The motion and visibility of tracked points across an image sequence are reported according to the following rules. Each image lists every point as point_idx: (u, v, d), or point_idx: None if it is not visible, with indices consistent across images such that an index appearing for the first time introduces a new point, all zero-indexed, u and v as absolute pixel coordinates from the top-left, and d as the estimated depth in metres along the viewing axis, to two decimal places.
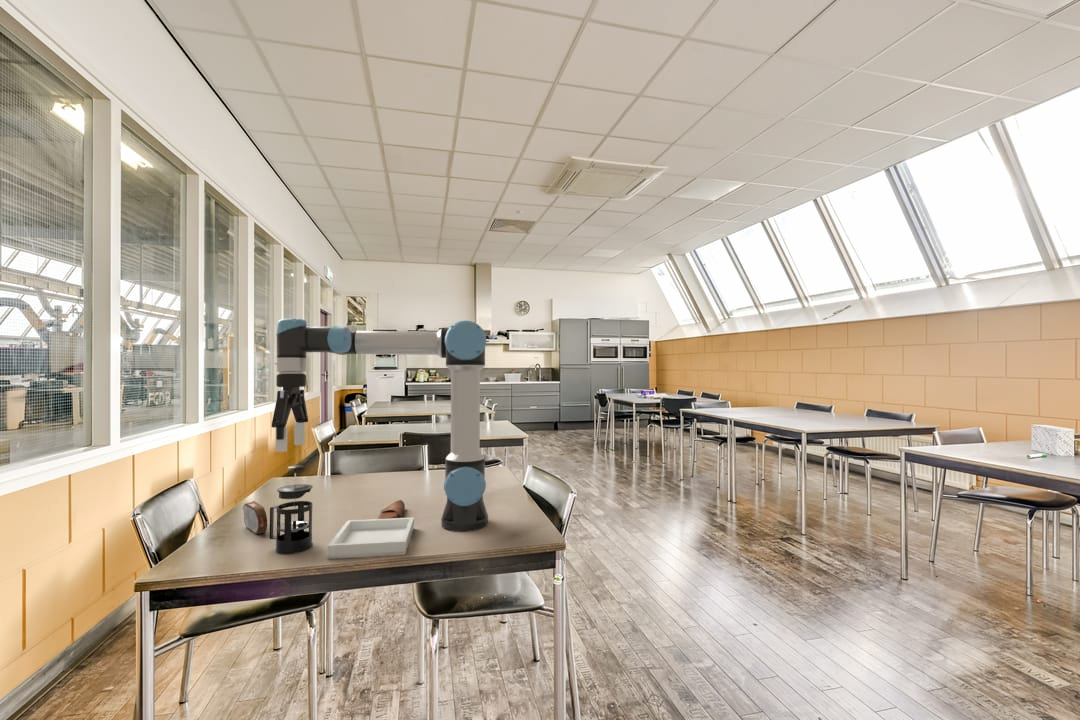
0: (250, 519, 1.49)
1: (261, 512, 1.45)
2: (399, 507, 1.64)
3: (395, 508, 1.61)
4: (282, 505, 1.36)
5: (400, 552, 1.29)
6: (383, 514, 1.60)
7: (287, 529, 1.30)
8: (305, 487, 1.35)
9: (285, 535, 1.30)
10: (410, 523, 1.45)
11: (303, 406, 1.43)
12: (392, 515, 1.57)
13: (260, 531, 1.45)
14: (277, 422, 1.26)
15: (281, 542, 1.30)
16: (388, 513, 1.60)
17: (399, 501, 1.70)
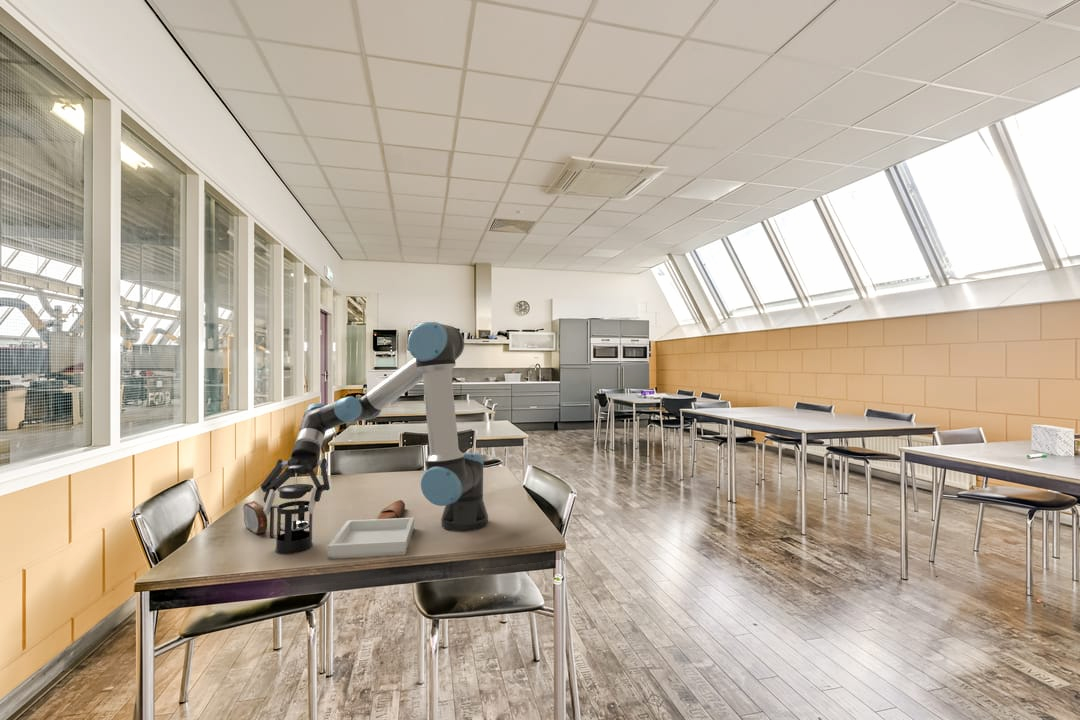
0: (250, 519, 1.49)
1: (261, 512, 1.45)
2: (398, 507, 1.64)
3: (394, 508, 1.61)
4: (282, 505, 1.36)
5: (400, 552, 1.29)
6: (382, 514, 1.60)
7: (287, 529, 1.30)
8: (306, 487, 1.34)
9: (285, 535, 1.30)
10: (410, 523, 1.45)
11: (322, 473, 1.41)
12: (391, 515, 1.57)
13: (260, 531, 1.45)
14: None
15: (281, 542, 1.30)
16: (387, 513, 1.60)
17: (399, 501, 1.70)
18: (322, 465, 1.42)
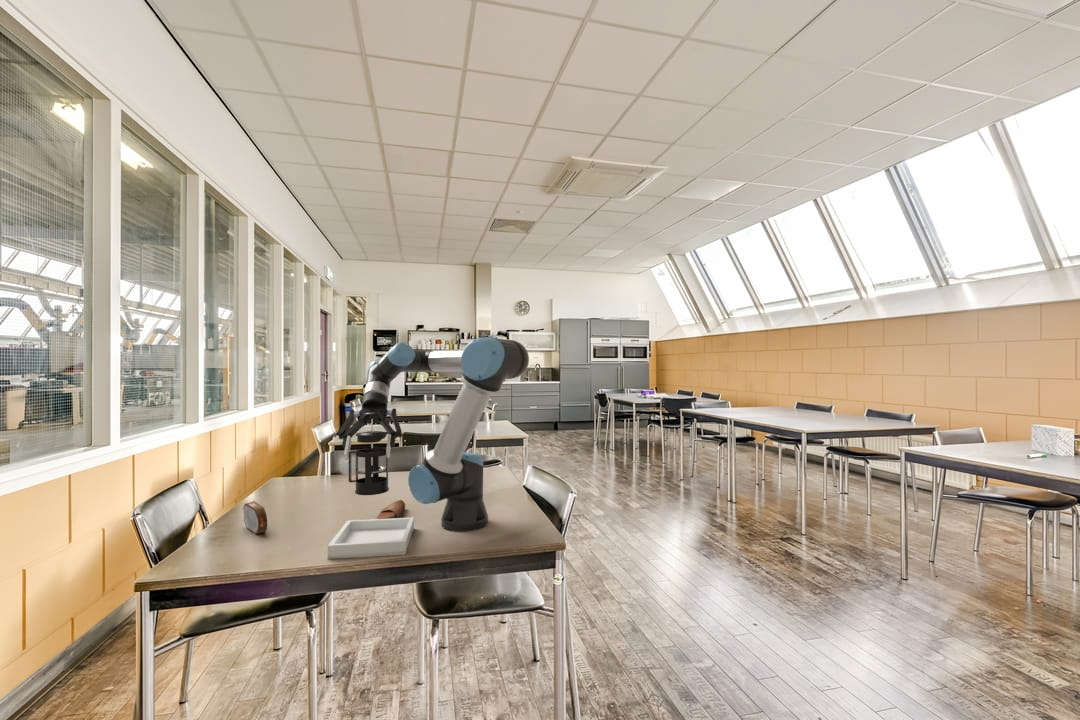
0: (250, 519, 1.49)
1: (261, 512, 1.45)
2: (398, 507, 1.64)
3: (393, 508, 1.61)
4: (359, 450, 1.41)
5: (400, 552, 1.29)
6: (381, 514, 1.60)
7: (367, 471, 1.35)
8: (382, 432, 1.40)
9: (366, 477, 1.35)
10: (410, 523, 1.45)
11: (394, 421, 1.46)
12: (389, 515, 1.57)
13: (260, 531, 1.45)
14: None
15: (362, 484, 1.35)
16: (386, 513, 1.60)
17: (399, 501, 1.70)
18: (393, 414, 1.47)
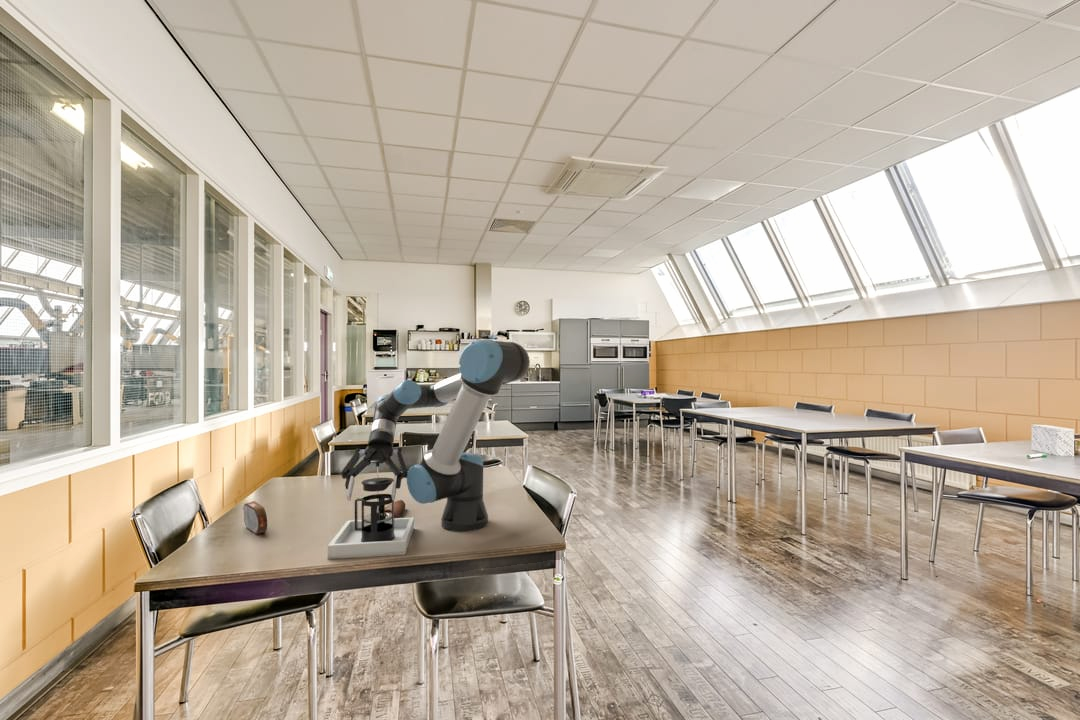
0: (250, 519, 1.49)
1: (261, 512, 1.45)
2: (397, 507, 1.64)
3: None
4: (365, 498, 1.41)
5: (400, 552, 1.29)
6: None
7: (373, 520, 1.35)
8: (387, 480, 1.39)
9: (371, 526, 1.35)
10: (410, 523, 1.45)
11: (399, 462, 1.45)
12: None
13: (260, 531, 1.45)
14: None
15: (368, 533, 1.35)
16: None
17: (399, 501, 1.70)
18: (398, 454, 1.47)
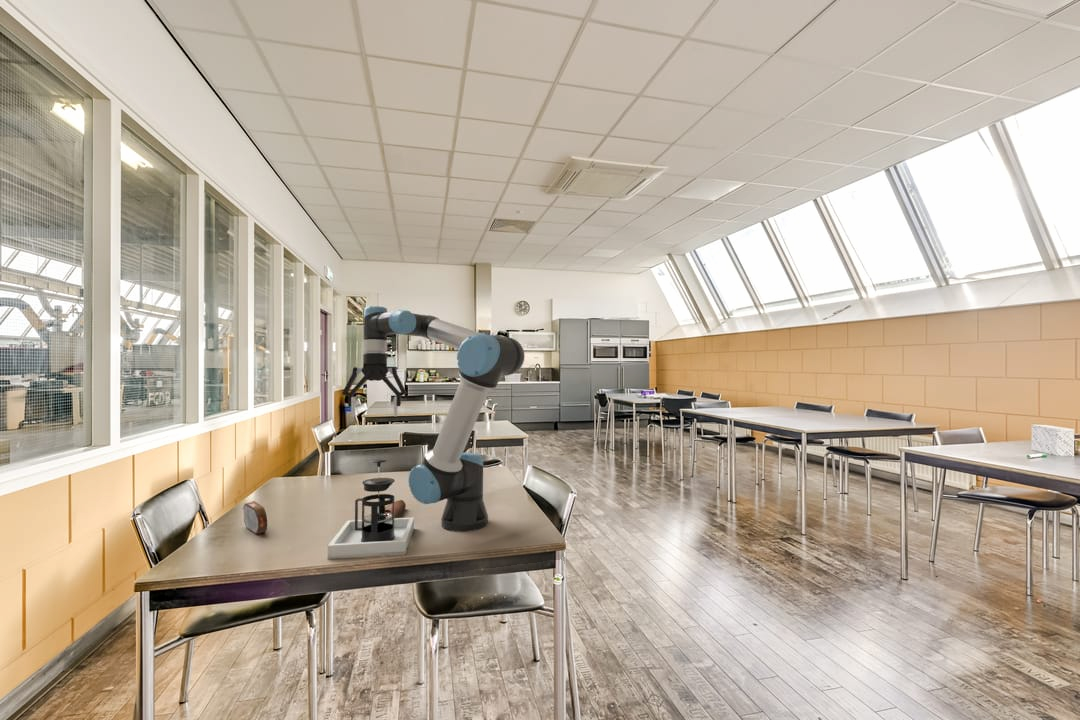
0: (250, 519, 1.49)
1: (261, 512, 1.45)
2: (397, 507, 1.64)
3: None
4: (365, 498, 1.41)
5: (400, 552, 1.29)
6: None
7: (373, 520, 1.35)
8: (388, 480, 1.39)
9: (372, 526, 1.35)
10: (410, 523, 1.45)
11: (396, 382, 1.60)
12: None
13: (260, 531, 1.45)
14: (343, 392, 1.58)
15: (368, 533, 1.35)
16: None
17: (399, 501, 1.70)
18: (394, 374, 1.60)
